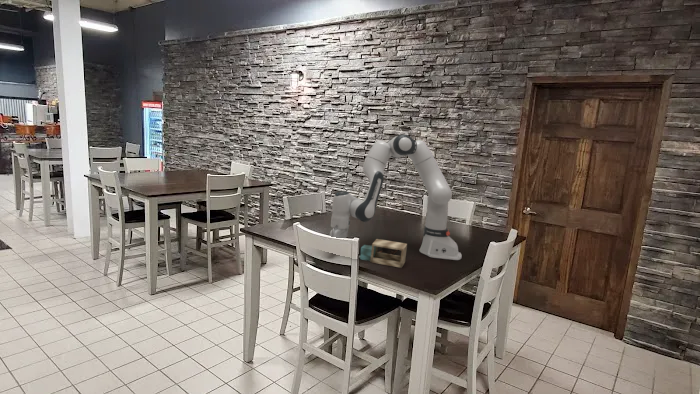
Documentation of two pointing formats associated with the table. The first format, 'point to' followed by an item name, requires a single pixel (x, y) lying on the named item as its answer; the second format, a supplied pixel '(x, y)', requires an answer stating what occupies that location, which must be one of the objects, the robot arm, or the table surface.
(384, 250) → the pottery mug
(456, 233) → the table surface
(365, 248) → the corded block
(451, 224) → the table surface
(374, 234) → the table surface
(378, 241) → the cubby shelf
